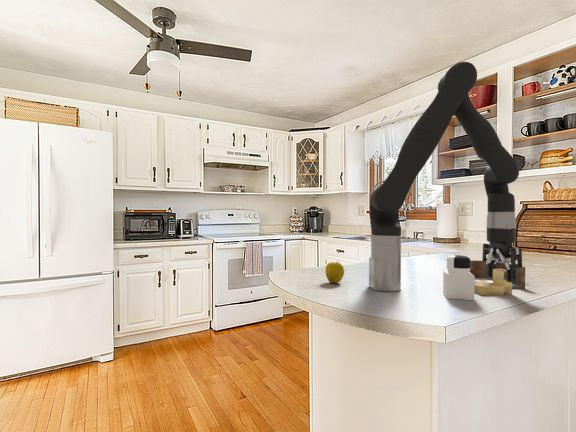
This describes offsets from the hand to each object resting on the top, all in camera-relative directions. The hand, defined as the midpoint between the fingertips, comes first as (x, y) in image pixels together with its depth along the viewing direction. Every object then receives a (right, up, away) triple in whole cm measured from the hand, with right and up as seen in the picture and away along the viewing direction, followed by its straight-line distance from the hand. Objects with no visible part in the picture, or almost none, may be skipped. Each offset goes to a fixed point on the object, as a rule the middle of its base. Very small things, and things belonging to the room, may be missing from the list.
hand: (500, 279), depth 99 cm
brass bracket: (-3, -4, 0) cm, 5 cm away
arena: (+3, -4, +13) cm, 14 cm away
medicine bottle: (-16, -4, -6) cm, 18 cm away
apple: (-50, -4, +11) cm, 51 cm away
